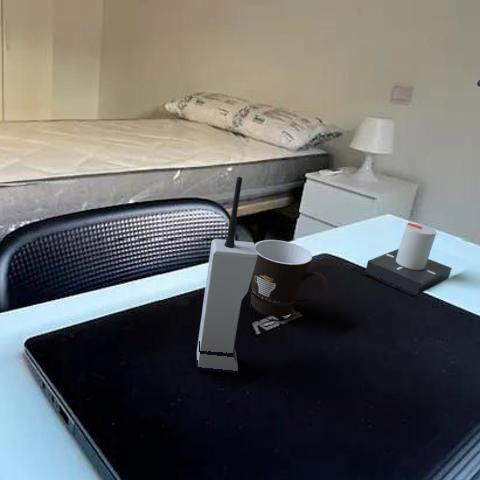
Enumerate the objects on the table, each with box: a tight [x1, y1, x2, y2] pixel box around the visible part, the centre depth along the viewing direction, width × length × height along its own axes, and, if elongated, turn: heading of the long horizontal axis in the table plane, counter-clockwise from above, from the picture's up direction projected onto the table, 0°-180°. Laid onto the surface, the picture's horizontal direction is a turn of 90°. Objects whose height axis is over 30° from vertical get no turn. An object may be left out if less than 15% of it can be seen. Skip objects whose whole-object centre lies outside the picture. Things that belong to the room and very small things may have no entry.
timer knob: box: [396, 222, 437, 270], centre depth 90 cm, size 5×5×7 cm
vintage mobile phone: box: [196, 176, 258, 372], centre depth 59 cm, size 4×5×25 cm
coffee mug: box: [250, 239, 330, 316], centre depth 75 cm, size 12×9×10 cm
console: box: [364, 248, 453, 296], centre depth 92 cm, size 10×12×3 cm
